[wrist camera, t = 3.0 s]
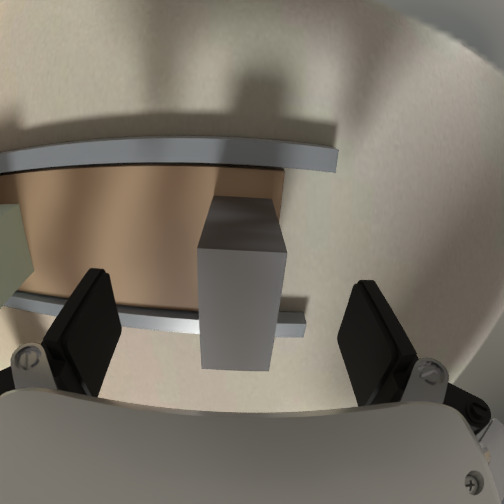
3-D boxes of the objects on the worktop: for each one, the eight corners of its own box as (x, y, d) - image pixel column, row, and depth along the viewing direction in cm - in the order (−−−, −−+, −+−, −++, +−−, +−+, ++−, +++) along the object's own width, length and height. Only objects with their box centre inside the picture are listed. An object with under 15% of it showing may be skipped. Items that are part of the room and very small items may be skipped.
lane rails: (332, 146, 15) (338, 149, 14) (300, 325, 20) (303, 337, 19) (-42, 162, 13) (-52, 166, 12) (-11, 293, 19) (-17, 300, 18)
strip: (283, 168, 15) (308, 211, 9) (267, 308, 19) (275, 390, 14) (-38, 180, 14) (-95, 212, 8) (-13, 280, 18) (-55, 325, 12)
